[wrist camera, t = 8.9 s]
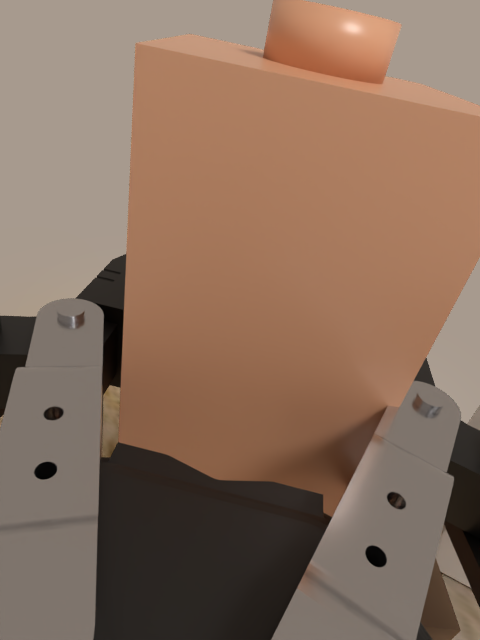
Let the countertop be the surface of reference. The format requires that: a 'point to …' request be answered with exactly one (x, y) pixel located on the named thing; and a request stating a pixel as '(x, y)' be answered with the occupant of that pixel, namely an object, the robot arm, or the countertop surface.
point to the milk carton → (446, 551)
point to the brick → (288, 245)
